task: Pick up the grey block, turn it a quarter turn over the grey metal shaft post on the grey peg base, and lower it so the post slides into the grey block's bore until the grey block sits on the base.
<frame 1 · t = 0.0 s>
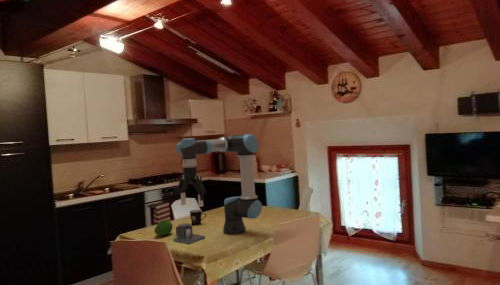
hand: (192, 205, 206), 28 cm above the table, fingers open, 13 cm apart
grey peg base: (189, 239, 241), on the table
grey block: (184, 235, 252), on the table
fruit: (163, 235, 255), on the table
coffee mug: (197, 224, 280), on the table
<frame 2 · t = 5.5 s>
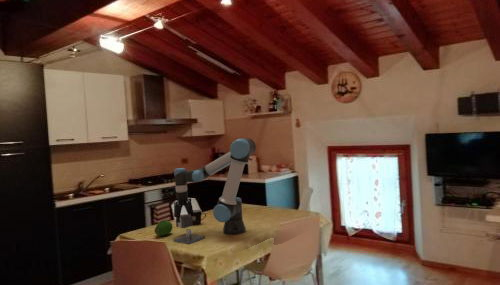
hand: (184, 225, 252), 7 cm above the table, fingers closed on grey block, 8 cm apart
grey block: (184, 226, 252), point 6 cm above the table, touching gripper
everything else where it was.
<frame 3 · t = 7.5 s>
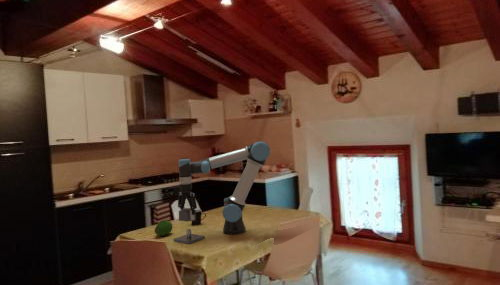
hand: (188, 219, 240), 13 cm above the table, fingers closed on grey block, 8 cm apart
grey block: (187, 220, 240), point 13 cm above the table, touching gripper
everything else where it was.
when the fingers open (3 cm above the table, at t = 9.5 s): grey block drops 1 cm, resting on grey peg base.
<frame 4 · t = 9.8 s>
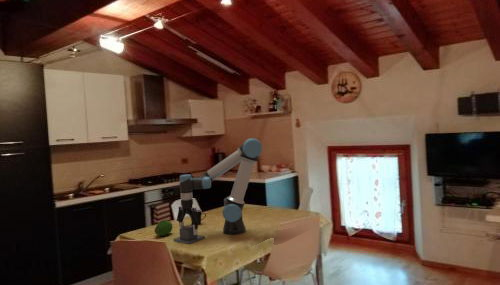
hand: (188, 233, 241), 4 cm above the table, fingers open, 11 cm apart
grey block: (188, 237, 240), point 1 cm above the table, touching grey peg base
everything else where it was.
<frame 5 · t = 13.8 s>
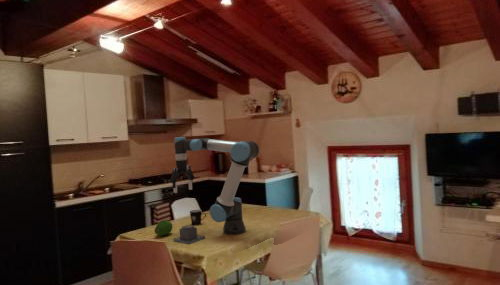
hand: (183, 191, 256), 29 cm above the table, fingers open, 13 cm apart
nothing on the table moved.
at the end: grey block 0.5 cm off-centre on the grey peg base, point 1.5 cm above the grey peg base's base; grey block tilted 0°; the gripper is holding nothing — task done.
